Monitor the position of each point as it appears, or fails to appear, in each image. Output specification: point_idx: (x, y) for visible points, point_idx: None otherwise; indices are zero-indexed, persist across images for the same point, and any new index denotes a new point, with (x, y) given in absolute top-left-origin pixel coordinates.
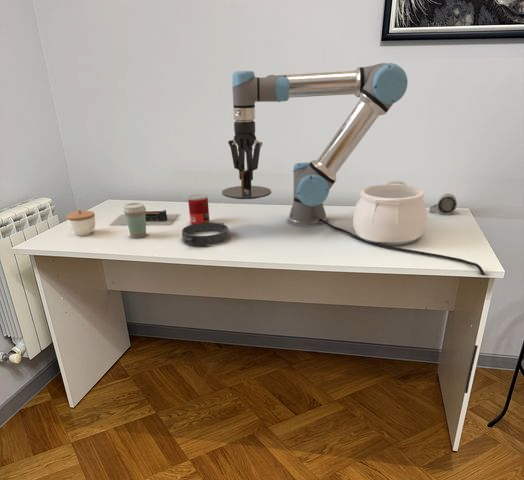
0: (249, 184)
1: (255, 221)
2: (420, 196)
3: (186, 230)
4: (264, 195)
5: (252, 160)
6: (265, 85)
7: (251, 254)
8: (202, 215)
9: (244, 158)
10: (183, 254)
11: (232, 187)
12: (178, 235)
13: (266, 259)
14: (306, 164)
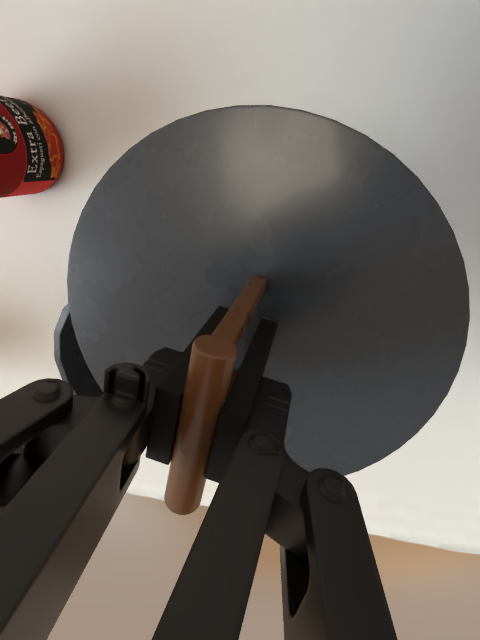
0: (264, 368)
1: (275, 42)
2: None
3: (67, 350)
4: (416, 431)
5: (252, 573)
6: None
7: (356, 482)
8: (24, 185)
9: (68, 535)
10: (153, 474)
11: (92, 226)
12: (46, 320)
13: (415, 520)
14: None
